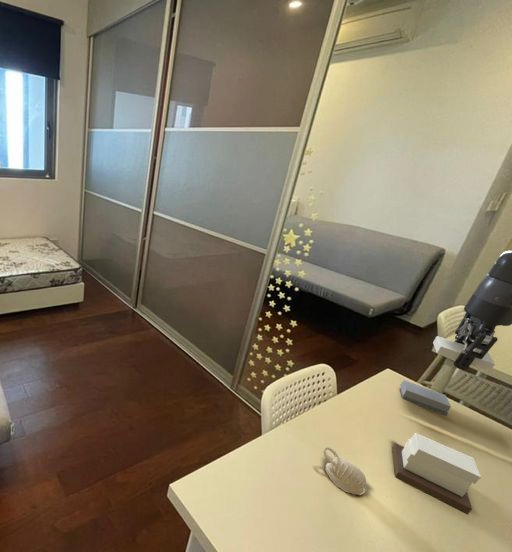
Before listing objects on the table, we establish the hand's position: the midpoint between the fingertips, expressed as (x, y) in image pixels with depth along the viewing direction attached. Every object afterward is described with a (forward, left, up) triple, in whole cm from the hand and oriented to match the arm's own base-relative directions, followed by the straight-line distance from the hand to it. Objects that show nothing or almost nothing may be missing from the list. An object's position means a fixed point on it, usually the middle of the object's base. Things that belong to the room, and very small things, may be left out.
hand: (456, 360), depth 76 cm
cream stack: (+1, +23, -18) cm, 29 cm away
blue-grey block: (-1, -5, -18) cm, 18 cm away
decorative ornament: (+16, +36, -18) cm, 43 cm away
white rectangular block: (0, 0, +1) cm, 1 cm away
